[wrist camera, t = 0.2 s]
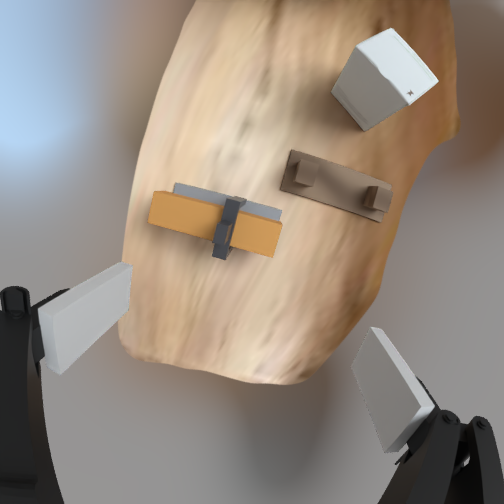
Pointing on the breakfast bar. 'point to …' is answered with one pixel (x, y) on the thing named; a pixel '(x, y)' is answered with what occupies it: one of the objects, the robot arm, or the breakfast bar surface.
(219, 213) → the orange tapered block
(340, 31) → the breakfast bar surface
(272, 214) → the clip mount
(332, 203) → the rest
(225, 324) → the breakfast bar surface
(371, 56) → the skincare box
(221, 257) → the grey gate frame
